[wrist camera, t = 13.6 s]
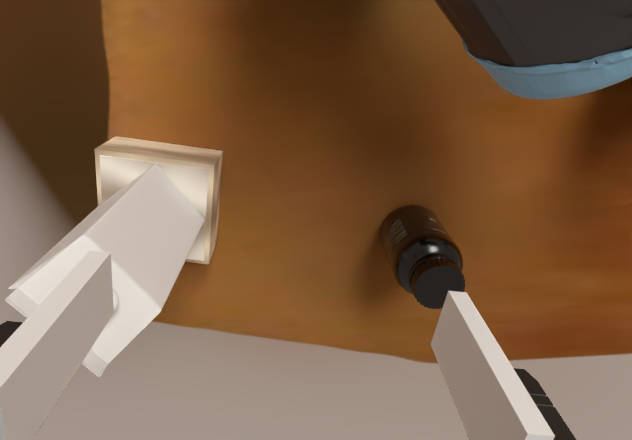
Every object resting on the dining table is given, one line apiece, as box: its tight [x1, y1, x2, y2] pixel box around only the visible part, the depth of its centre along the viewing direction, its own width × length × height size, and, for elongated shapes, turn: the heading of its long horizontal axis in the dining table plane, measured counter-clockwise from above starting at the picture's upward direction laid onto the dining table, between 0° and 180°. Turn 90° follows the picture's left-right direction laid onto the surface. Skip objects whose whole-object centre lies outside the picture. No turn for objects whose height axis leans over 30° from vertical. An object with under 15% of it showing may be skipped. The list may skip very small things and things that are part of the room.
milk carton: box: [5, 165, 204, 377], centre depth 34 cm, size 7×7×19 cm
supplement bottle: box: [381, 205, 465, 309], centre depth 45 cm, size 7×7×12 cm
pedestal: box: [95, 136, 223, 264], centre depth 45 cm, size 11×11×5 cm
